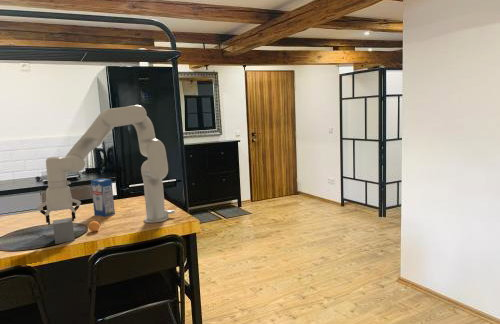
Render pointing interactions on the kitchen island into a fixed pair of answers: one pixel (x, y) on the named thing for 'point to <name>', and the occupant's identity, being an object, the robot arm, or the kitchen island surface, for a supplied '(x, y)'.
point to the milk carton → (102, 197)
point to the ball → (94, 226)
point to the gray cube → (63, 230)
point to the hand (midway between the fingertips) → (61, 222)
